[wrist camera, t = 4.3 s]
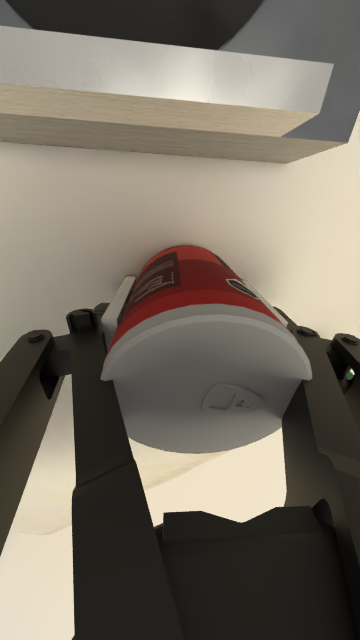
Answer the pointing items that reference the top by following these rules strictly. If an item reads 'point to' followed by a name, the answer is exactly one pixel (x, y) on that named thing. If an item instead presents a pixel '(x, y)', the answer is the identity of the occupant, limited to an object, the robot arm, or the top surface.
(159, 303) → the canned food
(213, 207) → the top surface
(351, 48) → the grey holder tray
